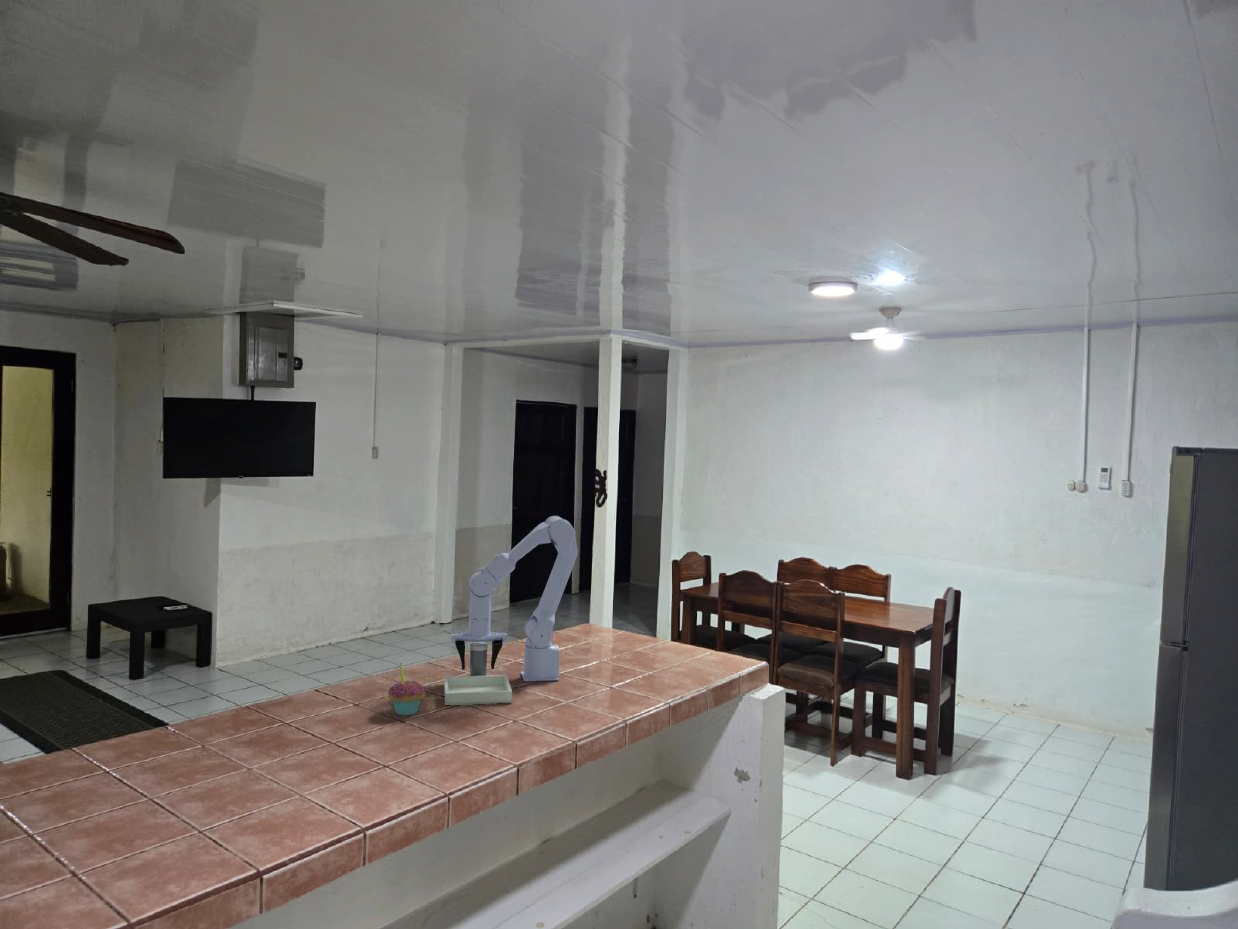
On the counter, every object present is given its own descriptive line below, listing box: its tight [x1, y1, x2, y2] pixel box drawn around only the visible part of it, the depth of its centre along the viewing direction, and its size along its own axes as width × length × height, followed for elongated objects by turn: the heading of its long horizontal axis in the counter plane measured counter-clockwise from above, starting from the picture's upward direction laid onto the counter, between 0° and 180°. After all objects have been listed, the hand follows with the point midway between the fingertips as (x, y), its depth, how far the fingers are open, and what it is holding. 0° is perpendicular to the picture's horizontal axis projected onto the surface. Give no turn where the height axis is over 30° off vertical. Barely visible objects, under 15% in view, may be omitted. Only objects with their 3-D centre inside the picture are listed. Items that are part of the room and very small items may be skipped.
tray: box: [443, 674, 513, 706], centre depth 206 cm, size 16×14×3 cm
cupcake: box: [387, 663, 427, 716], centre depth 192 cm, size 9×8×12 cm
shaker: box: [469, 641, 489, 676], centre depth 219 cm, size 5×5×10 cm
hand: (477, 668), depth 219 cm, fingers open, 7 cm apart
